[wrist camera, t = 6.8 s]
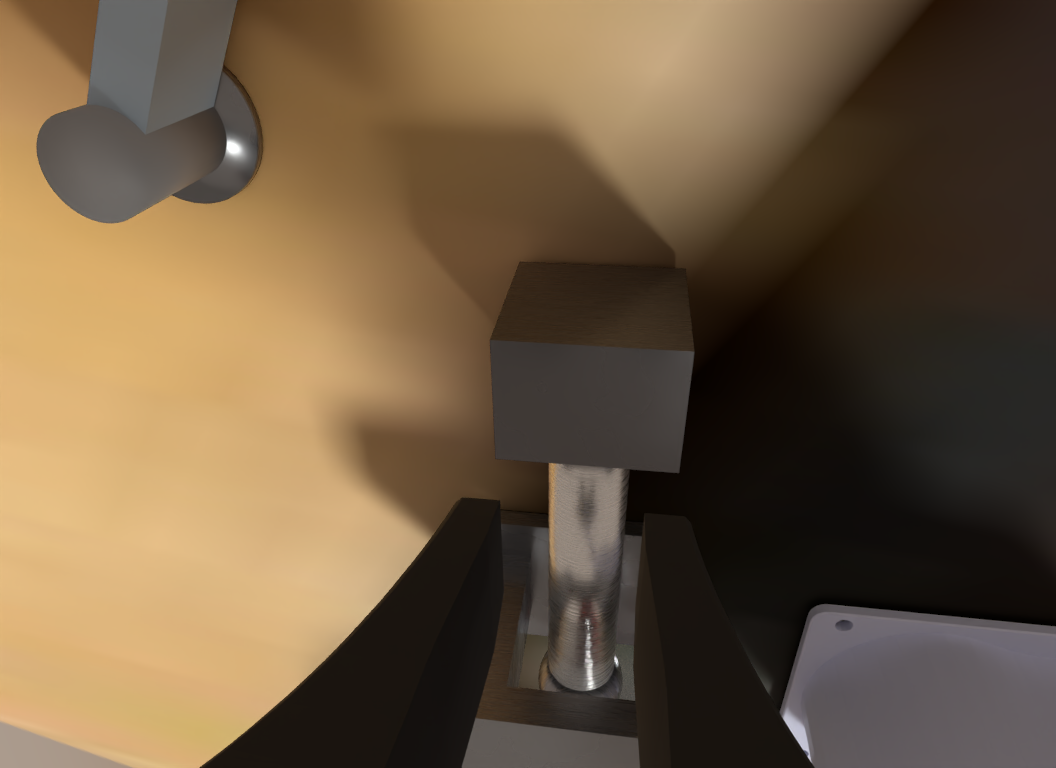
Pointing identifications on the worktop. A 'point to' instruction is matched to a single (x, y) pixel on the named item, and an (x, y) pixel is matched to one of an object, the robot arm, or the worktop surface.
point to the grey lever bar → (142, 109)
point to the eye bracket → (537, 715)
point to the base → (231, 146)
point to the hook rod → (590, 432)
